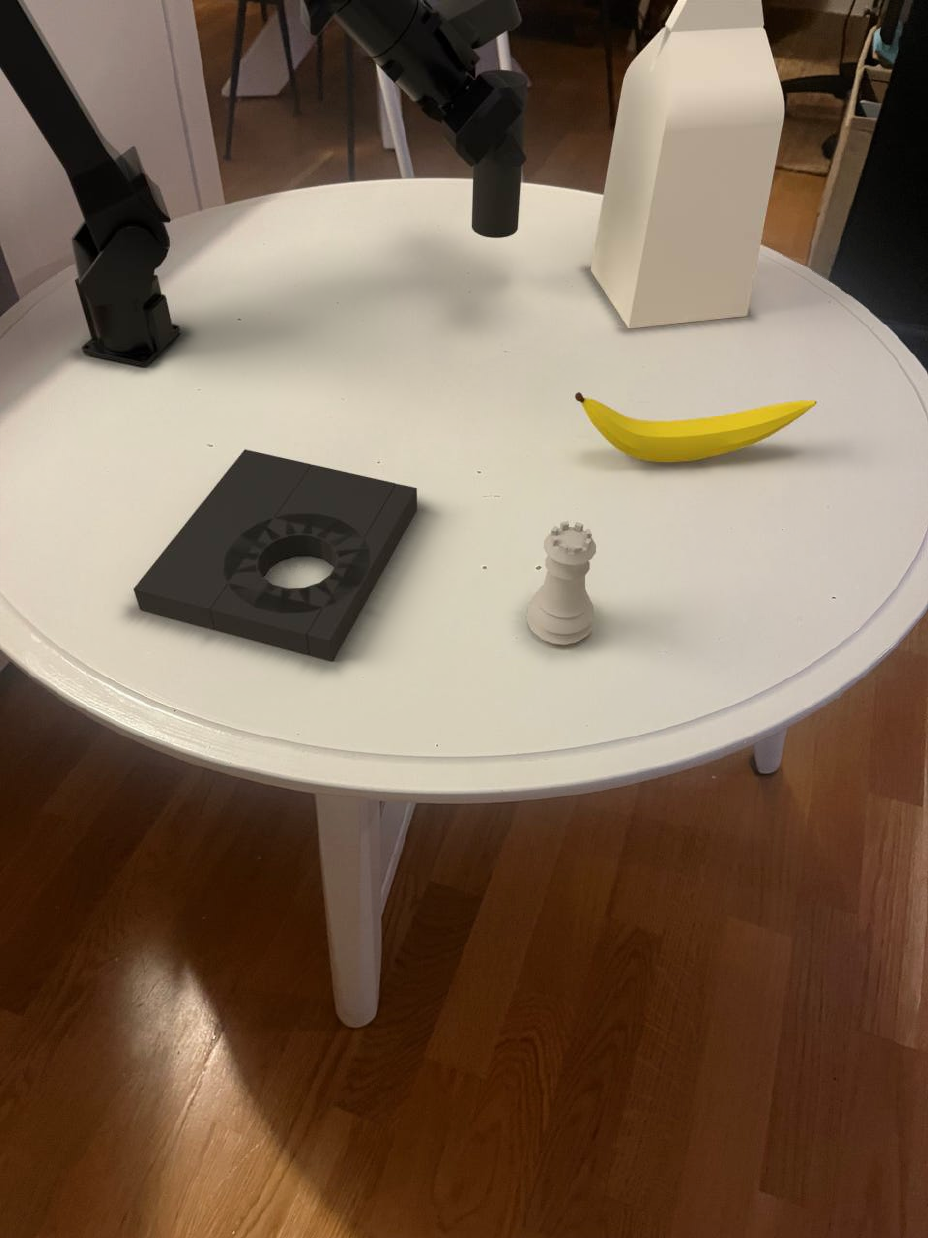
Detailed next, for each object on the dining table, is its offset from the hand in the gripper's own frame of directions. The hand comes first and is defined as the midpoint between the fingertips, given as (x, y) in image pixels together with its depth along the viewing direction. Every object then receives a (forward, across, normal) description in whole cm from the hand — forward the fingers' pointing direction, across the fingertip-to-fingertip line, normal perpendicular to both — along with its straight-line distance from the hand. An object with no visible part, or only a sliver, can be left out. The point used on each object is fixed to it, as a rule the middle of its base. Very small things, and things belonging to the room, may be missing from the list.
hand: (512, 153), depth 88 cm
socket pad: (-12, -32, +30) cm, 45 cm away
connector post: (+4, 0, +6) cm, 7 cm away
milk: (+19, -7, -1) cm, 20 cm away
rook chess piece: (-1, -44, +19) cm, 48 cm away
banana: (+11, -31, +7) cm, 34 cm away
